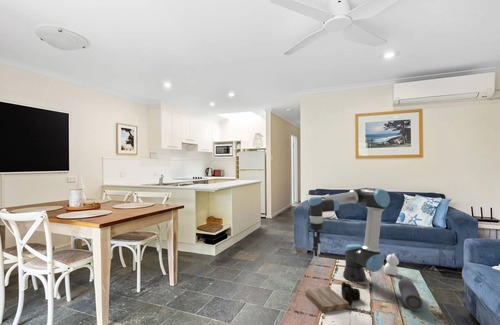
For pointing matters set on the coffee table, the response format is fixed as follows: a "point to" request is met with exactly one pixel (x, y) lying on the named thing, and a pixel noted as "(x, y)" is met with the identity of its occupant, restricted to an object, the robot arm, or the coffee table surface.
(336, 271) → the coffee table surface
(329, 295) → the wooden pallet
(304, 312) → the coffee table surface
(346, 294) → the film camera
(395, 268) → the cat figurine
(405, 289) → the bluetooth speaker
